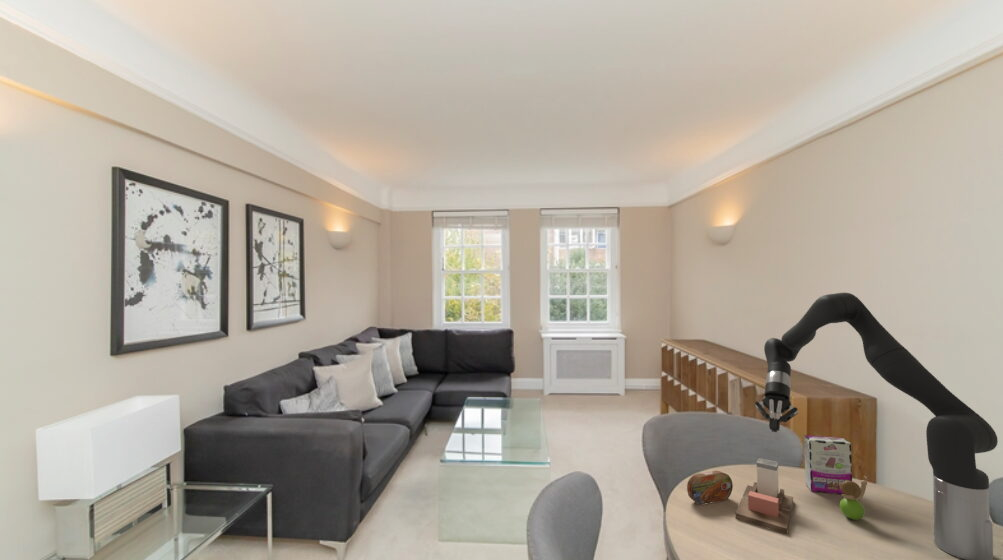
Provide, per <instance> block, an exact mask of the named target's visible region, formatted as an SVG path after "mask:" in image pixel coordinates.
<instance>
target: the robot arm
mask: <svg viewBox="0 0 1003 560" xmlns="http://www.w3.org/2000/svg"><path fill="white" fill-rule="evenodd" d="M845 322H846V323H848V325H850V326H851V327H852V328H853V329H854V330H855V331H856V332H857V333H858V335H859V336H860V338H861V341H862V348H863V353H864V356H865V357H864V358H865V359H866V361H867V362H868V364H869V365H871V368H873V369H874V370H875V372H876V373H877V374H879V376H880V377H881V378H883V379H884V381H886V383H888V384H889V385H891V386H892V387H894V388H896V389H897V390H899V391H901V392H902V393H904V394H905V395H908V396H909V397H911V398H913V399H914V400H916V401H918V402H919V403H920V404H922V405H923V406H924V407H926V408H927V409H928V410H929V412H931V413H932V414H933V415H934V416H933V417H932V418H931V419H930V420H929V421H928V423H927V424H926V425H927V426H926V431H925V432H926V433H925V434H926V446H927V449H926V450H927V459H928V462H929V464H930V466H931V468H932V480H933V481H932V486H933V487H932V488H933V494H932V495H933V497H932V498H933V538H934V544H935V546H937V548H939V549H940V550H942V551H944V552H945V553H948V554H950V555H952V556H954V557H956V558H958V559H961V560H962V559H963V560H994V534H993V532H994V531H993V530H994V529H993V528H994V527H993V523H992V521H991V519H990V518H991V517H990V479H989V476H988V474H987V473H985V472H984V471H983V470H981V469H979V468H977V463H976V454H983V453H987V452H991V451H993V450H995V449H996V448H997V445H998V441H999V440H998V435H997V433H996V431H995V430H994V428H993V427H992V425H991V424H990V423H988V421H986V420H985V419H984V417H982V416H981V415H979V413H977V412H976V411H974V410H973V409H972V408H971V407H969V406H968V405H967V404H966V403H965V402H964V401H962V400H961V399H960V398H959V397H957V396H956V395H954V393H953V392H951V391H950V390H949V389H948V388H947V387H946V386H945V385H944V384H943V383H941V381H939V379H938V378H936V377H935V376H934V375H933V373H932V372H930V371H929V370H928V369H927V368H926V367H925V366H924V365H923V364H922V363H921V362H920V361H919V360H918V359H917V357H915V356H914V355H913V354H912V353H911V352H910V351H909V350H908V349H907V348H906V347H904V346H903V345H902V344H901V343H900V342H899V341H898V340H897V339H896V338H895V337H894V336H893V335H892V334H891V332H889V331H888V330H887V329H886V327H884V326H883V325H882V324H881V323H880V322H879V321H878V319H877V318H876V317H875V316H874V315H873V314H872V312H871V311H870V310H869V308H868V307H866V305H865V304H864V303H863V302H862V300H860V298H858V297H857V296H856V295H854V294H852V293H850V292H837V293H829V294H824V295H821V296H819V297H818V298H817V299H816V300H815V301H814V302H813V303H812V304H811V306H810V307H809V308H808V309H807V311H806V312H805V313H804V315H803V316H801V318H800V320H799V321H798V322H796V324H795V325H793V326H792V327H791V328H790V329H789V330H787V331H786V332H785V333H784V334H783V335H782V336H781V339H779V338H775V337H771V338H769V339H767V340H766V341H765V344H764V349H763V350H764V355H765V358H766V363H767V373H766V378H765V385H764V394H763V397H762V399H761V401H755V402H754V404H755V408H756V409H757V410H758V412H759V413H760V414H761V416H763V418H764V419H765V420H769V425H768V427H769V429H770V430H771V432H773V433H778V432H779V431H780V430H781V429H780V428H781V426H780V425H781V423H782V422H783V423H787V422H789V421H790V420H791V419H793V418H794V417H795V416H797V415H798V414H799V413H798V412H799V411H798V408H797V407H796V406H794V405H792V402H791V401H790V400H791V389H792V386H791V385H792V383H791V374H792V373H791V372H792V371H791V369H792V367H791V364H790V363H789V362H793V361H795V360H796V358H797V357H798V354H799V353H800V351H801V350H802V349H803V348H804V347H805V346H806V345H808V344H809V343H811V342H812V340H814V339H815V337H816V335H817V330H819V329H821V328H822V327H824V326H826V325H830V324H837V323H838V324H839V323H845ZM764 407H765V408H766V409H767V411H769V413H768V412H767V411H766V409H765V408H764ZM785 412H786V413H785Z"/></svg>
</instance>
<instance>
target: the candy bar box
mask: <svg viewBox="0 0 1003 560" xmlns="http://www.w3.org/2000/svg"><path fill="white" fill-rule="evenodd" d="M803 439H804V440H803V442H804V447H803V448H804V471H805V472H804V475H805V485H806V487H807V488H808V490H810V491H811V492H813V493H823V494H830V495H841V496H842V494H844V493H843V492H842V490H841V485H842V483H843V482H845V481H853V468H852V443H851V442H850V441H848V440H847V439H846V438H845V437H835V436H819V435H806V434H804V435H803Z"/></svg>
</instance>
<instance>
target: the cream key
mask: <svg viewBox="0 0 1003 560" xmlns="http://www.w3.org/2000/svg"><path fill="white" fill-rule="evenodd" d="M756 483H757V493H760V494H763V495H767V496H771V497H775V498H778V495H779V492H780V489H779V462H778V461H774V460H770V459H765V458H762V457H758V459H757V461H756Z"/></svg>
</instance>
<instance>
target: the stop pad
mask: <svg viewBox="0 0 1003 560" xmlns="http://www.w3.org/2000/svg"><path fill="white" fill-rule="evenodd" d="M748 509H750V510H753V511H757V512H760V513H764V514H767V515H771V516H774V517H777V518H778V514H779V499H778V498H775V497H771V496H767V495H763V494H760V493H756V492H752V491H750V492H749V494H748Z"/></svg>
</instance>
